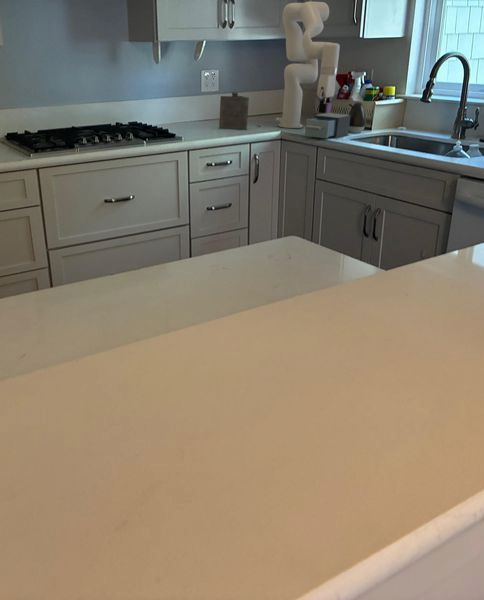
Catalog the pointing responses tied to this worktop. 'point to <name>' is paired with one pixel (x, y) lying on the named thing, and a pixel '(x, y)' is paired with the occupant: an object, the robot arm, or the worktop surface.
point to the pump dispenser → (357, 117)
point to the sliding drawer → (320, 127)
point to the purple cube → (327, 108)
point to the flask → (233, 112)
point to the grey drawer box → (338, 123)
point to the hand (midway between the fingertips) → (324, 111)
